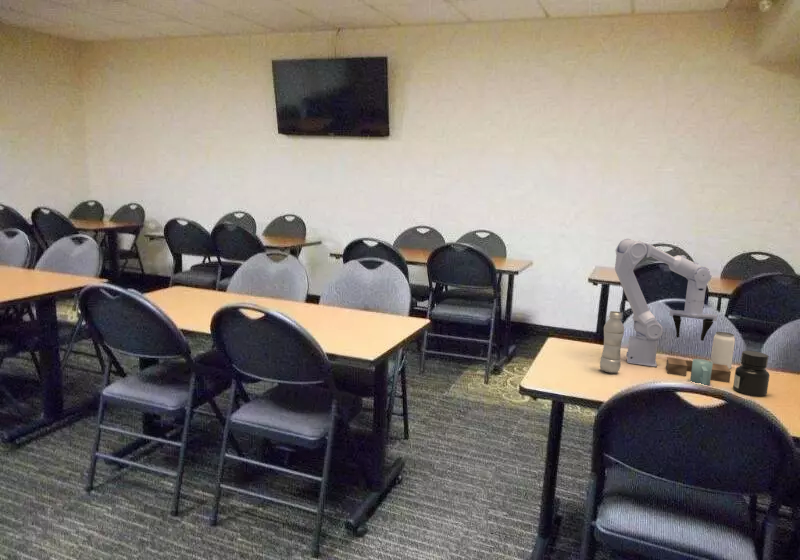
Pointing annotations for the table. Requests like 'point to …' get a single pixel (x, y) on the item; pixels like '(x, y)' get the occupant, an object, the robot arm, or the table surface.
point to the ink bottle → (752, 374)
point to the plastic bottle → (612, 343)
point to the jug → (701, 371)
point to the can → (723, 348)
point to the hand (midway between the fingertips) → (689, 338)
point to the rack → (683, 366)
